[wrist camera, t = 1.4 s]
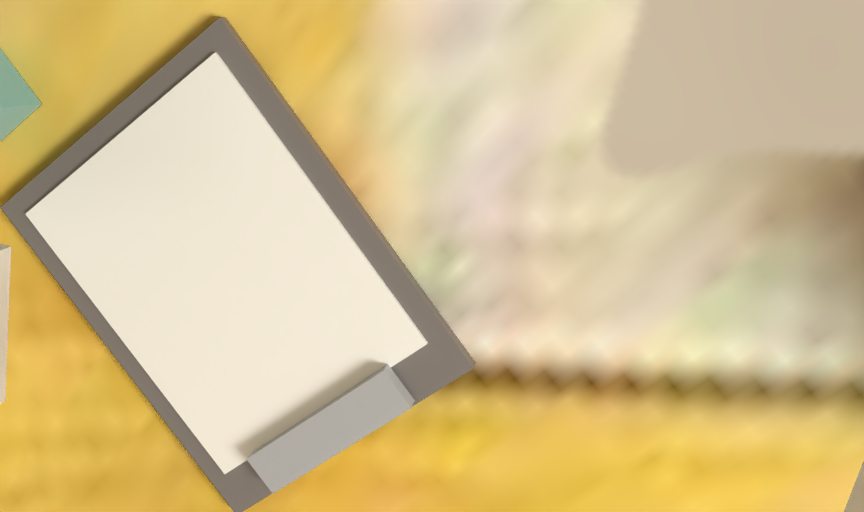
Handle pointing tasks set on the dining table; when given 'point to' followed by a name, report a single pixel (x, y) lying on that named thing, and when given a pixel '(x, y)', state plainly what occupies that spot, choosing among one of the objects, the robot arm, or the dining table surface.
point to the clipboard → (235, 273)
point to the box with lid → (14, 98)
